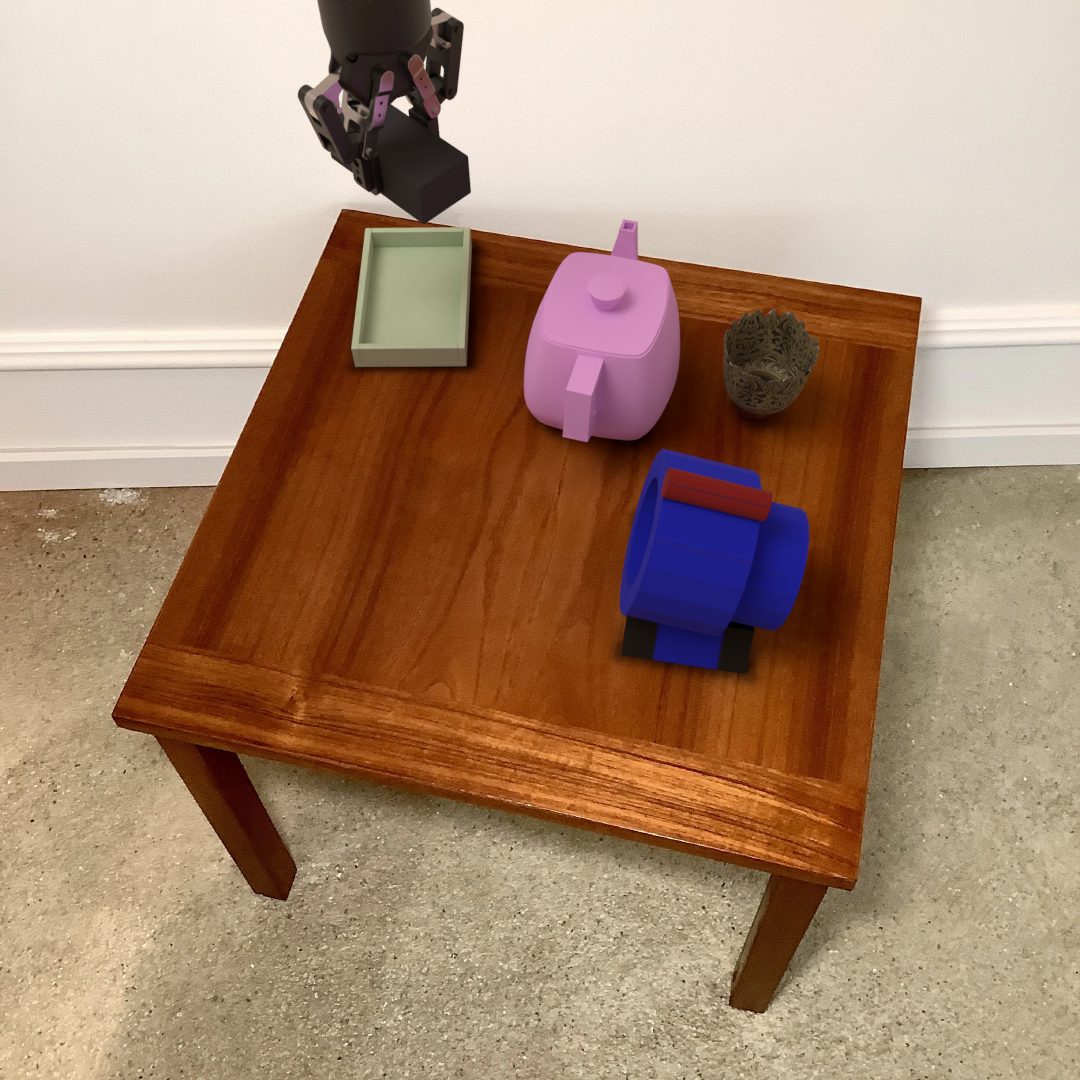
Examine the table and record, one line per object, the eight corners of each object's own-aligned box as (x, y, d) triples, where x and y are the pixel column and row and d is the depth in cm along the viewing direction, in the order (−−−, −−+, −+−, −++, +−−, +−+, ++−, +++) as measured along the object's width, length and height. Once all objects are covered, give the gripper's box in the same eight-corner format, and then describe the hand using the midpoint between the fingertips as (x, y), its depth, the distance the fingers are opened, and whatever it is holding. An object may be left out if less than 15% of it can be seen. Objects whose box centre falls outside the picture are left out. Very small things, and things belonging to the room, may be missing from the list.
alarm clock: (631, 516, 87) (645, 395, 74) (787, 537, 85) (829, 419, 73) (610, 653, 80) (621, 548, 68) (778, 678, 79) (822, 576, 66)
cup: (816, 426, 91) (837, 362, 84) (737, 453, 90) (752, 390, 83) (773, 362, 95) (790, 297, 88) (697, 387, 93) (708, 322, 87)
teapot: (650, 498, 88) (664, 397, 77) (500, 468, 89) (493, 365, 78) (693, 317, 98) (710, 206, 87) (558, 293, 99) (558, 181, 88)
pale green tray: (355, 367, 95) (350, 348, 93) (369, 247, 103) (365, 227, 101) (466, 366, 95) (464, 347, 93) (471, 246, 103) (470, 226, 101)
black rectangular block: (331, 158, 87) (323, 120, 84) (378, 128, 89) (372, 91, 86) (423, 225, 83) (419, 188, 80) (471, 192, 85) (468, 155, 82)
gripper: (411, -105, 75) (434, 107, 90) (244, -18, 70) (297, 193, 84) (487, -63, 72) (498, 150, 87) (319, 32, 67) (360, 241, 82)
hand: (399, 170), depth 85 cm, fingers closed on black rectangular block, 5 cm apart
